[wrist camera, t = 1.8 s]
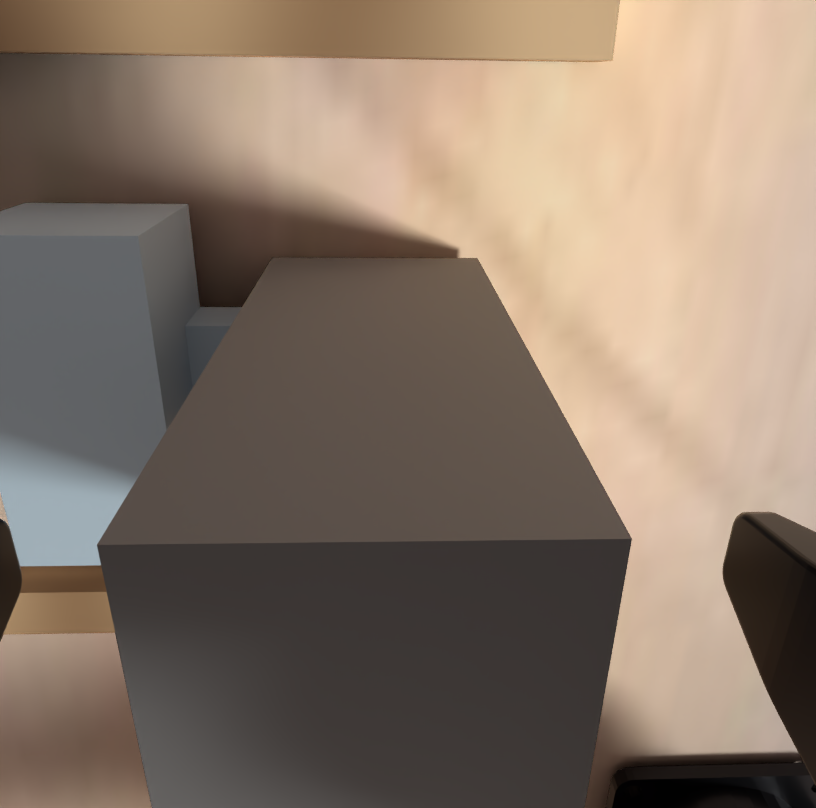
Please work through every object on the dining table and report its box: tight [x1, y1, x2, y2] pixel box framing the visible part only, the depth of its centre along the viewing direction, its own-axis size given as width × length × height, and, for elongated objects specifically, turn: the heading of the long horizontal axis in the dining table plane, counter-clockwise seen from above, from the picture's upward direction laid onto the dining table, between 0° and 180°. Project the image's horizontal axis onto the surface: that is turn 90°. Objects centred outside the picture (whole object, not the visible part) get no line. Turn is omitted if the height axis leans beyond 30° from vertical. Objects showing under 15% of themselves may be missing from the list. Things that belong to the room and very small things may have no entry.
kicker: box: [0, 203, 632, 808], centre depth 10 cm, size 8×6×9 cm
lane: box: [0, 0, 620, 634], centre depth 14 cm, size 20×13×1 cm, turn 89°
